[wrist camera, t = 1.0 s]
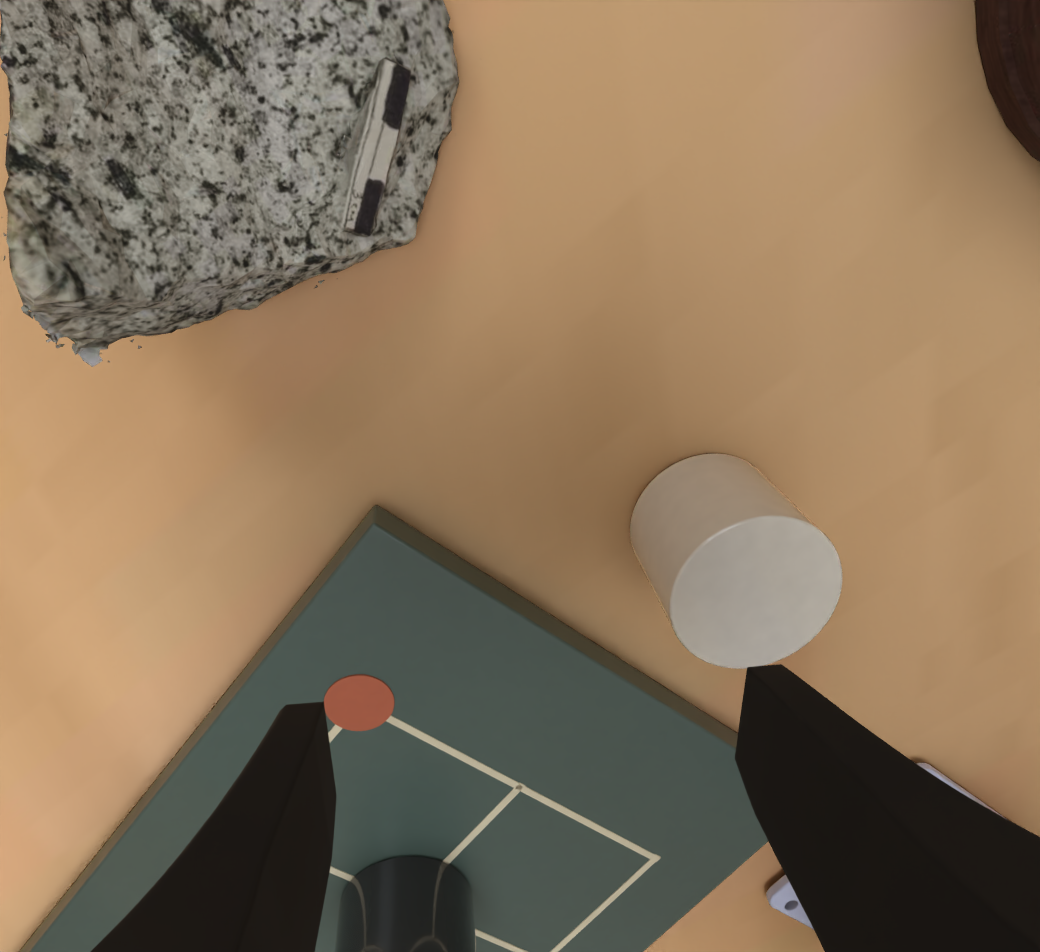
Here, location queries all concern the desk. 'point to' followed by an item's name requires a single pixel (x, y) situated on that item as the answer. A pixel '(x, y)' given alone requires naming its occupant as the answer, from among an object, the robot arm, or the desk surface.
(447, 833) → the game board
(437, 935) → the dark grey cylinder
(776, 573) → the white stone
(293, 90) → the rock sample
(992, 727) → the desk surface
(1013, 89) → the black ball on stand
